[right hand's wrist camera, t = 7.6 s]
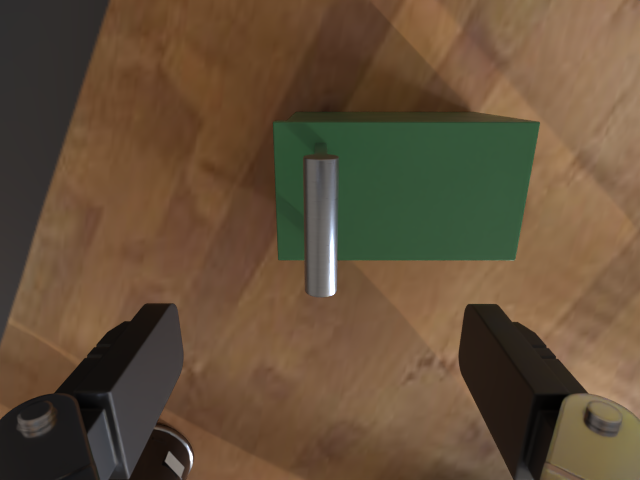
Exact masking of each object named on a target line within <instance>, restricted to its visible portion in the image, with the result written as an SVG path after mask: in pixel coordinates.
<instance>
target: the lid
mask: <svg viewBox="0 0 640 480" xmlns="http://www.w3.org/2000/svg"><path fill="white" fill-rule="evenodd" d="M539 126H540V122H537V121H530V120H276V121H274V122H273V139H274V165H275V191H276V217H277V242H278V260H305V291H306V293H307V294H309V295H311V296H314V297H328V296H331V295H333V294H335V293H336V291H337V260H515V258H516V252H517V247H518V241H519V236H520V230H521V225H522V219H523V214H524V208H525V203H526V197H527V192H528V186H529V181H530V175H531V170H532V164H533V159H534V153H535V148H536V142H537V137H538V131H539Z"/></svg>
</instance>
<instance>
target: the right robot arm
mask: <svg viewBox="0 0 640 480" xmlns="http://www.w3.org/2000/svg"><path fill="white" fill-rule="evenodd" d="M182 366H183V345H182V338H181V331H180V324H179V316H178V310H177V307H176V305H175V304H173V303H147V304H144V305H143V307H142V308H141V309H140V310H139V312H138V313H137V314H136V315H135V316H134V318H133V319H132V320H131V321H124V322H123V323H121V324H120V325H118V326H116V327H115V328H113V329H112V330H110V331H109V332H107V333H106V334H105V336H104V337H103V338H102V339H101V340H100V341H99V342H98V344H97V346H96V347H94V348H93V349H92V350H91V352H90V353H89V354H88V355H87V358H85V359H84V360H83V361H82V362H81V363H80V364H79V365H78V367H77V368H76V369H75V370H74V371H73V372H72V373H71V375H70V376H69V377H68V378H67V379H66V380H65V381H64V383H63V384H62V385H61V386H60V387H59V388H58V389H57V391H56V392H55V393H54V394H47V395H43V396H39V397H36V398H33V399H31V400H28V401H26V402H24V403H22V404H20V405H19V406H17V407H15V408H14V409H12V410H11V411H9V412H8V413H7V414H6V415H5V416H3V417H2V419H1V420H0V480H186V479H187V476H188V474H189V472H190V470H191V467H192V464H193V460H194V454H193V450H192V447H191V445H190V444H189V442H188V441H187V440H186V438H185V437H184V436H183V435H181V434H180V433H179V432H177V431H175V430H174V429H172V428H170V427H167V426H164V425H160V424H156V423H157V421H158V419H159V417H160V415H161V413H162V411H163V409H164V406H165V404H166V402H167V400H168V398H169V396H170V394H171V392H172V390H173V388H174V386H175V384H176V382H177V380H178V378H179V376H180V373H181V370H182ZM459 366H460V371H461V374H462V376H463V378H464V380H465V382H466V384H467V386H468V388H469V390H470V393H471V395H472V397H473V399H474V401H475V403H476V405H477V407H478V409H479V411H480V413H481V415H482V417H483V419H484V421H485V423H486V425H487V427H488V429H489V431H490V433H491V435H492V437H493V439H494V441H495V443H496V445H497V447H498V449H499V451H500V453H501V455H502V457H503V459H504V461H505V463H506V465H507V467H508V469H509V471H510V473H511V475H512V477H513V479H514V480H640V420H639V419H638V417H636V416H635V415H634V414H633V413H632V412H631V411H629V410H628V409H626V408H625V407H623V406H621V405H620V404H618V403H616V402H614V401H612V400H609V399H607V398H604V397H601V396H597V395H593V394H588V392H587V391H586V390H585V389H584V388H583V387H582V386H581V384H580V383H579V382H578V381H577V380H576V379H575V378H574V377H573V375H572V374H571V373H570V372H569V371H568V370H567V369H566V367H565V366H564V365H563V364H562V363H561V362H560V361H559V359H556V356H555V355H554V354H553V353H552V352H551V350H550V349H549V348H546V345H545V344H544V342H543V341H542V340H541V339H540V338H539V337H538V336H537V335H536V333H534V332H533V331H531V330H530V329H528V328H526V327H525V326H523V325H522V324H520V323H518V322H512V321H511V320H510V319H509V318H508V317H507V315H506V314H505V313H504V312H503V310H502V309H501V308H500V307H499V306H498V305H497V304H468V305H467V306H466V308H465V312H464V318H463V325H462V332H461V339H460V347H459Z"/></svg>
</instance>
